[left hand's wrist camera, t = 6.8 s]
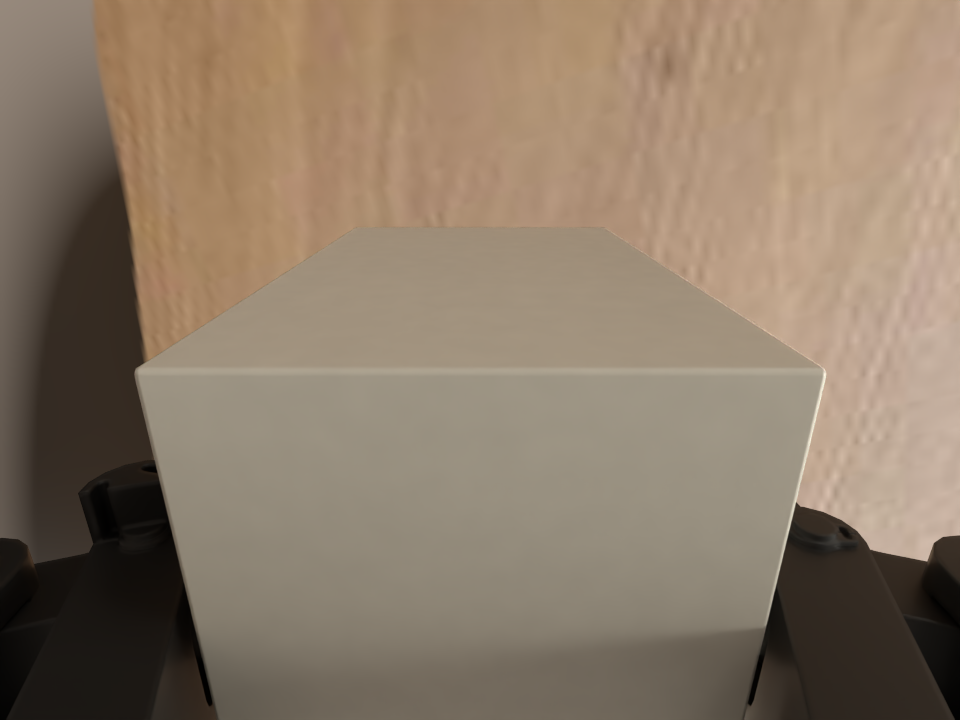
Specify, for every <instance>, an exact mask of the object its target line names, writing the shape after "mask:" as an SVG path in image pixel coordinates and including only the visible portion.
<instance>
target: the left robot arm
mask: <svg viewBox="0 0 960 720" xmlns="http://www.w3.org/2000/svg"><path fill="white" fill-rule="evenodd" d="M78 494H79V497H80V501H81V504H82V507H83V511H84V514H85V517H86V521H87V524H88V527H89V530H90V534H91V537H92V540H93V546H92V548H91V550H90V552H89V553H86V554H82V555H77V556H72V557H67V558H62V559H57V560H52V561H47V562H42V563H37V564H34V563H33V560H32V557H31V554H30V552H29V549H28V546H27V545H26V544H24V543H23V542H21V541H20V540H18V539H7V538H0V720H217V718H216V714H215V710H214V706H213V702H212V697H211V693H210V689H209V685H208V681H207V676H206V672H205V668H204V664H203V660H202V656H201V651H200V647H199V643H198V639H197V635H196V630H195V626H194V622H193V618H192V614H191V610H190V605H189V601H188V597H187V593H186V589H185V585H184V580H183V576H182V572H181V568H180V564H179V559H178V555H177V551H176V547H175V543H174V539H173V534H172V530H171V526H170V522H169V518H168V513H167V509H166V505H165V501H164V497H163V493H162V488H161V484H160V480H159V476H158V472H157V467H156V463H155V460H147V461H142V462H137V463H132V464H128V465H124V466H121V467H119V468H116V469H113V470H111V471H108V472H106V473H104V474H102V475H100V476H99V477H97V478H95V479H94V480H92V481H90V482H89V483H88V484H87V485H86V486H85V487H84V488H83V489H82V490H81V491H80V492H79V493H78ZM744 720H960V536H949V537H942V538H941V539H939V540H938V541H936V542H935V543H934V545H933V547H932V550H931V553H930V556H929V559H928V561H927V562H926V561H921V560H916V559H911V558H906V557H901V556H896V555H891V554H886V553H881V552H877V551H873V550H870V549H869V547H868V545H867V543H866V542H865V540H864V539H863V538H862V537H861V535H860V534H859V533H858V532H857V531H856V530H855V529H853V528H852V527H850V526H849V525H847V524H846V523H845V522H843V521H842V520H840V519H837V518H835V517H833V516H831V515H828V514H826V513H824V512H821V511H817V510H813V509H809V508H805V507H800V506H799V505H798V504H797V502H796V504H795V508H794V513H793V517H792V521H791V525H790V529H789V533H788V538H787V542H786V546H785V550H784V554H783V558H782V563H781V567H780V571H779V575H778V579H777V583H776V588H775V592H774V596H773V600H772V604H771V608H770V613H769V617H768V621H767V625H766V629H765V633H764V638H763V642H762V646H761V650H760V654H759V658H758V662H757V667H756V671H755V675H754V679H753V683H752V687H751V692H750V696H749V700H748V704H747V708H746V712H745V717H744Z"/></svg>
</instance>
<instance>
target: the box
mask: <svg viewBox="0 0 960 720" xmlns="http://www.w3.org/2000/svg"><path fill="white" fill-rule="evenodd" d="M825 379H826V371H825V369H824V368H823V367H821V366H820V365H818V364H817V363H815V362H814V361H812V360H810V359H809V358H807V357H806V356H804V355H803V354H801V353H799V352H798V351H796V350H795V349H793V348H792V347H790V346H789V345H787V344H785V343H784V342H782V341H781V340H779V339H778V338H776V337H775V336H773V335H771V334H770V333H768V332H767V331H765V330H764V329H762V328H761V327H759V326H757V325H756V324H754V323H753V322H751V321H750V320H748V319H746V318H745V317H743V316H742V315H740V314H739V313H737V312H736V311H734V310H732V309H731V308H729V307H728V306H726V305H725V304H723V303H722V302H720V301H718V300H717V299H715V298H714V297H712V296H711V295H709V294H707V293H706V292H704V291H703V290H701V289H700V288H698V287H697V286H695V285H693V284H692V283H690V282H689V281H687V280H686V279H684V278H683V277H681V276H679V275H678V274H676V273H675V272H673V271H672V270H670V269H669V268H667V267H665V266H664V265H662V264H661V263H659V262H658V261H656V260H654V259H653V258H651V257H650V256H648V255H647V254H645V253H644V252H642V251H640V250H639V249H637V248H636V247H634V246H633V245H631V244H630V243H628V242H626V241H625V240H623V239H622V238H620V237H619V236H617V235H616V234H614V233H612V232H611V231H609V230H608V229H606V228H432V227H356V228H354V229H353V230H351V231H350V232H348V233H346V234H345V235H343V236H342V237H340V238H339V239H337V240H336V241H334V242H332V243H331V244H329V245H328V246H326V247H325V248H323V249H322V250H320V251H318V252H317V253H315V254H314V255H312V256H311V257H309V258H308V259H306V260H304V261H303V262H301V263H300V264H298V265H297V266H295V267H293V268H292V269H290V270H289V271H287V272H286V273H284V274H283V275H281V276H279V277H278V278H276V279H275V280H273V281H272V282H270V283H269V284H267V285H265V286H264V287H262V288H261V289H259V290H258V291H256V292H255V293H253V294H251V295H250V296H248V297H247V298H245V299H244V300H242V301H241V302H239V303H237V304H236V305H234V306H233V307H231V308H230V309H228V310H227V311H225V312H223V313H222V314H220V315H219V316H217V317H216V318H214V319H213V320H211V321H209V322H208V323H206V324H205V325H203V326H202V327H200V328H199V329H197V330H195V331H194V332H192V333H191V334H189V335H188V336H186V337H185V338H183V339H181V340H180V341H178V342H177V343H175V344H174V345H172V346H171V347H169V348H167V349H166V350H164V351H163V352H161V353H160V354H158V355H157V356H155V357H153V358H152V359H150V360H149V361H147V362H146V363H144V364H143V365H141V366H139V367H138V368H137V369H136V370H135V380H136V384H137V388H138V392H139V396H140V401H141V405H142V409H143V413H144V417H145V421H146V426H147V430H148V434H149V438H150V442H151V446H152V451H153V455H154V459H155V463H156V467H157V472H158V476H159V480H160V484H161V488H162V493H163V497H164V501H165V505H166V509H167V513H168V518H169V522H170V526H171V530H172V534H173V539H174V543H175V547H176V551H177V555H178V559H179V564H180V568H181V572H182V576H183V580H184V585H185V589H186V593H187V597H188V601H189V605H190V610H191V614H192V618H193V622H194V626H195V630H196V635H197V639H198V643H199V647H200V651H201V656H202V660H203V664H204V668H205V672H206V676H207V681H208V685H209V689H210V693H211V697H212V702H213V706H214V710H215V714H216V718H217V720H744V717H745V712H746V708H747V704H748V700H749V696H750V692H751V687H752V683H753V679H754V675H755V671H756V667H757V662H758V658H759V654H760V650H761V646H762V642H763V638H764V633H765V629H766V625H767V621H768V617H769V613H770V608H771V604H772V600H773V596H774V592H775V588H776V583H777V579H778V575H779V571H780V567H781V563H782V558H783V554H784V550H785V546H786V542H787V538H788V533H789V529H790V525H791V521H792V517H793V513H794V508H795V504H796V500H797V496H798V492H799V488H800V483H801V479H802V475H803V471H804V467H805V463H806V458H807V454H808V450H809V446H810V442H811V438H812V433H813V429H814V425H815V421H816V417H817V413H818V409H819V404H820V400H821V396H822V392H823V388H824V384H825Z"/></svg>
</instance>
